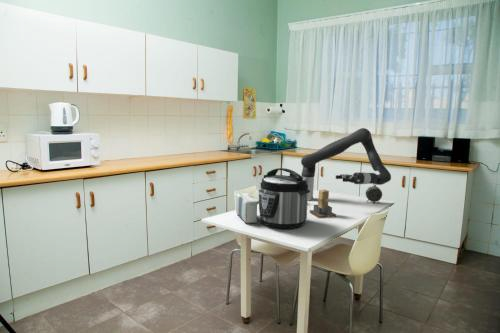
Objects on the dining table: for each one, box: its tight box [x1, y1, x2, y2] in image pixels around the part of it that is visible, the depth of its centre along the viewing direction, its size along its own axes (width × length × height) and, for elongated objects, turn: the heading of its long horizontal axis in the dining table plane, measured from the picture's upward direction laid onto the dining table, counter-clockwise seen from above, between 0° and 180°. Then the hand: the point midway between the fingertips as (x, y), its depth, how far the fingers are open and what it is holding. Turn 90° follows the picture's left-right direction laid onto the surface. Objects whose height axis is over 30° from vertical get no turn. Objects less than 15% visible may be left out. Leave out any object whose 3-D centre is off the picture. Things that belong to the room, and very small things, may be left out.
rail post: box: [317, 189, 330, 208], centre depth 223 cm, size 4×4×14 cm
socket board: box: [309, 204, 337, 219], centre depth 224 cm, size 12×12×6 cm
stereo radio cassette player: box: [235, 188, 259, 224], centre depth 210 cm, size 21×8×20 cm, turn 17°
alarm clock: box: [365, 184, 383, 204], centre depth 257 cm, size 11×5×16 cm, turn 84°
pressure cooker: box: [258, 167, 310, 229], centre depth 203 cm, size 30×28×32 cm
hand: (339, 178), depth 224 cm, fingers open, 8 cm apart
